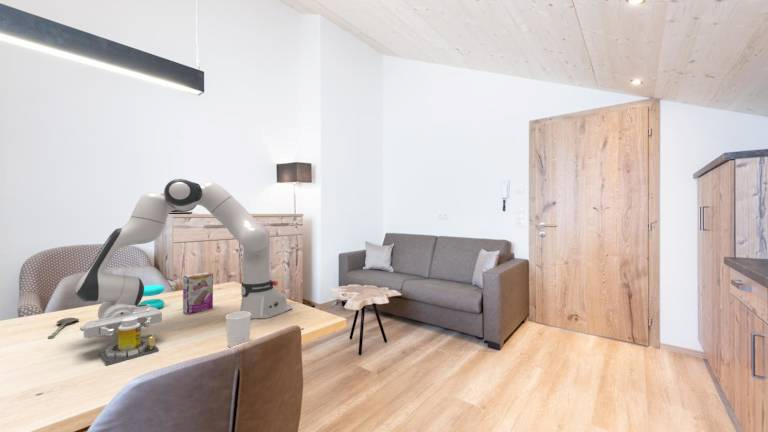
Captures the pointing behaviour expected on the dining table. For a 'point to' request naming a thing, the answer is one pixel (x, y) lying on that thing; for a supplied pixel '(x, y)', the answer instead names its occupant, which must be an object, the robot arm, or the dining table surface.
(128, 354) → the dock
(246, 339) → the white cup
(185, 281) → the candy bar box
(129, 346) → the supplement bottle
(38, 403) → the dining table surface
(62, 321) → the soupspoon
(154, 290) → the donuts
